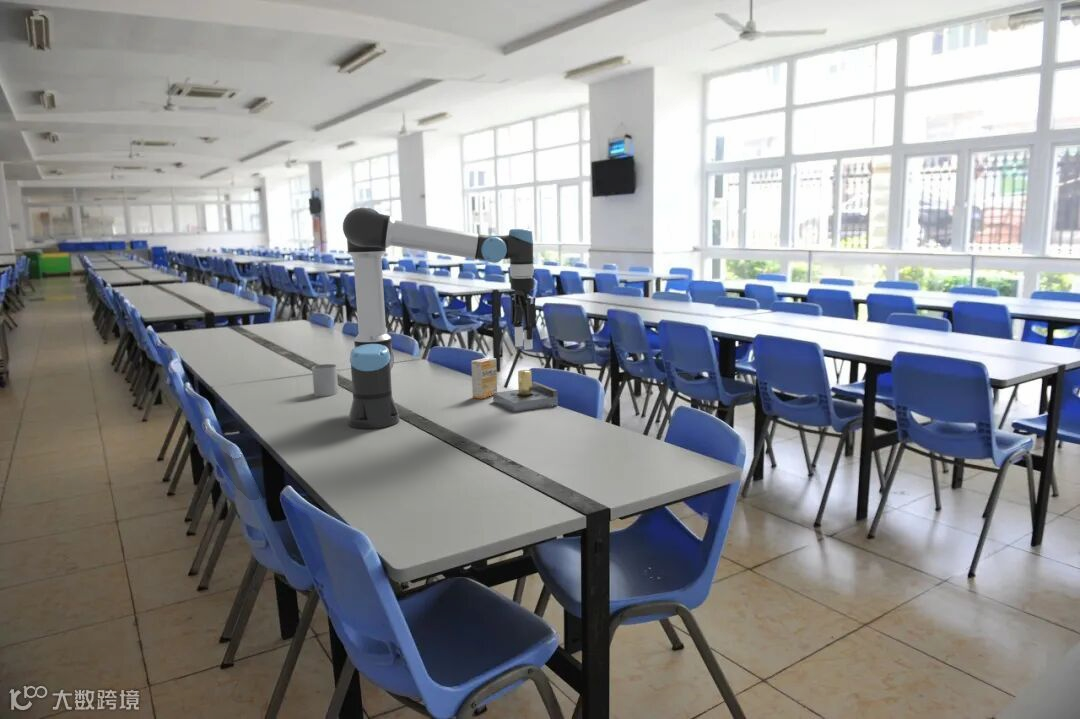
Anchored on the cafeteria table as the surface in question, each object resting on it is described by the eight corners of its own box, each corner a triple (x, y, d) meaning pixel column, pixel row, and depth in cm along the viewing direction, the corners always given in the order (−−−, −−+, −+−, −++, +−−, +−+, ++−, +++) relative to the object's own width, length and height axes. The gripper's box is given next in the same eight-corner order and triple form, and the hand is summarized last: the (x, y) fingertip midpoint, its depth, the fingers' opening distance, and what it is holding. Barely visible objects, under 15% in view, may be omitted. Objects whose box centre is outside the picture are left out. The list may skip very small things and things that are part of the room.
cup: (341, 390, 273) (339, 364, 271) (333, 396, 265) (331, 368, 263) (319, 390, 274) (317, 364, 272) (310, 396, 266) (308, 368, 264)
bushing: (522, 405, 246) (521, 373, 244) (516, 403, 250) (515, 370, 248) (534, 404, 248) (533, 371, 246) (528, 401, 252) (527, 369, 250)
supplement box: (482, 399, 256) (481, 361, 254) (472, 397, 259) (470, 360, 257) (498, 394, 263) (497, 358, 260) (487, 392, 265) (486, 356, 263)
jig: (514, 412, 239) (513, 396, 238) (493, 401, 253) (492, 387, 252) (557, 405, 246) (557, 390, 245) (535, 395, 260) (534, 381, 259)
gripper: (546, 278, 235) (547, 350, 239) (519, 274, 251) (521, 342, 256) (525, 279, 231) (526, 353, 236) (499, 276, 248) (501, 344, 252)
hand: (523, 347), depth 246 cm, fingers open, 6 cm apart
